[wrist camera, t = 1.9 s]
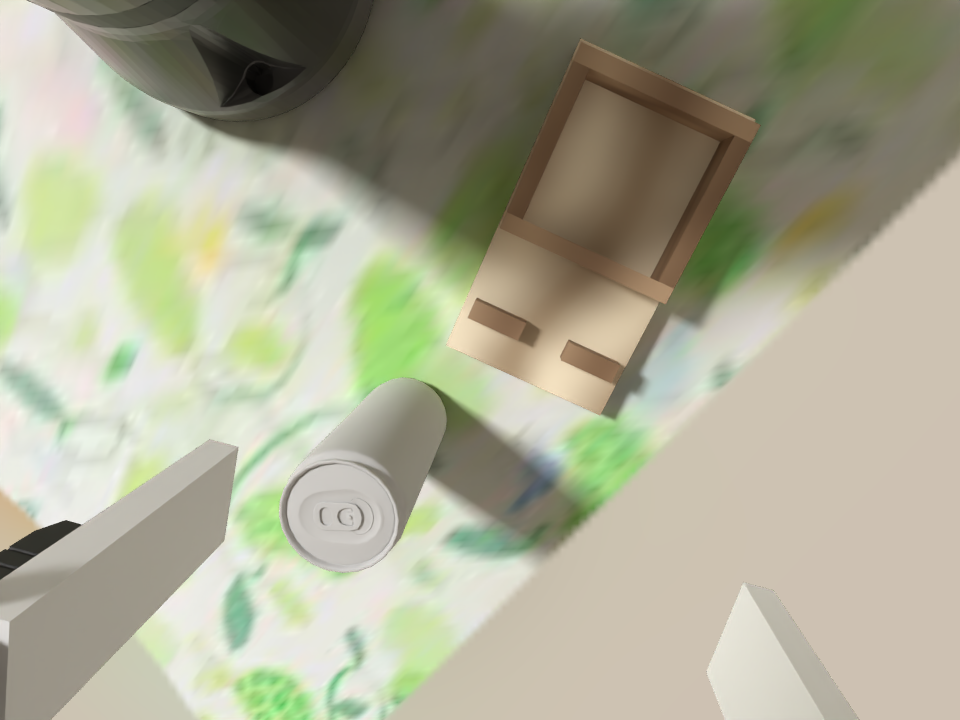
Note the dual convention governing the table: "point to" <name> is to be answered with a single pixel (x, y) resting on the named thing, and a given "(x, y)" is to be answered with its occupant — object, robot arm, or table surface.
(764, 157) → the table surface
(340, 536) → the beverage can
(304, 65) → the robot arm
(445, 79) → the table surface
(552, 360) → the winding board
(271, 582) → the table surface
